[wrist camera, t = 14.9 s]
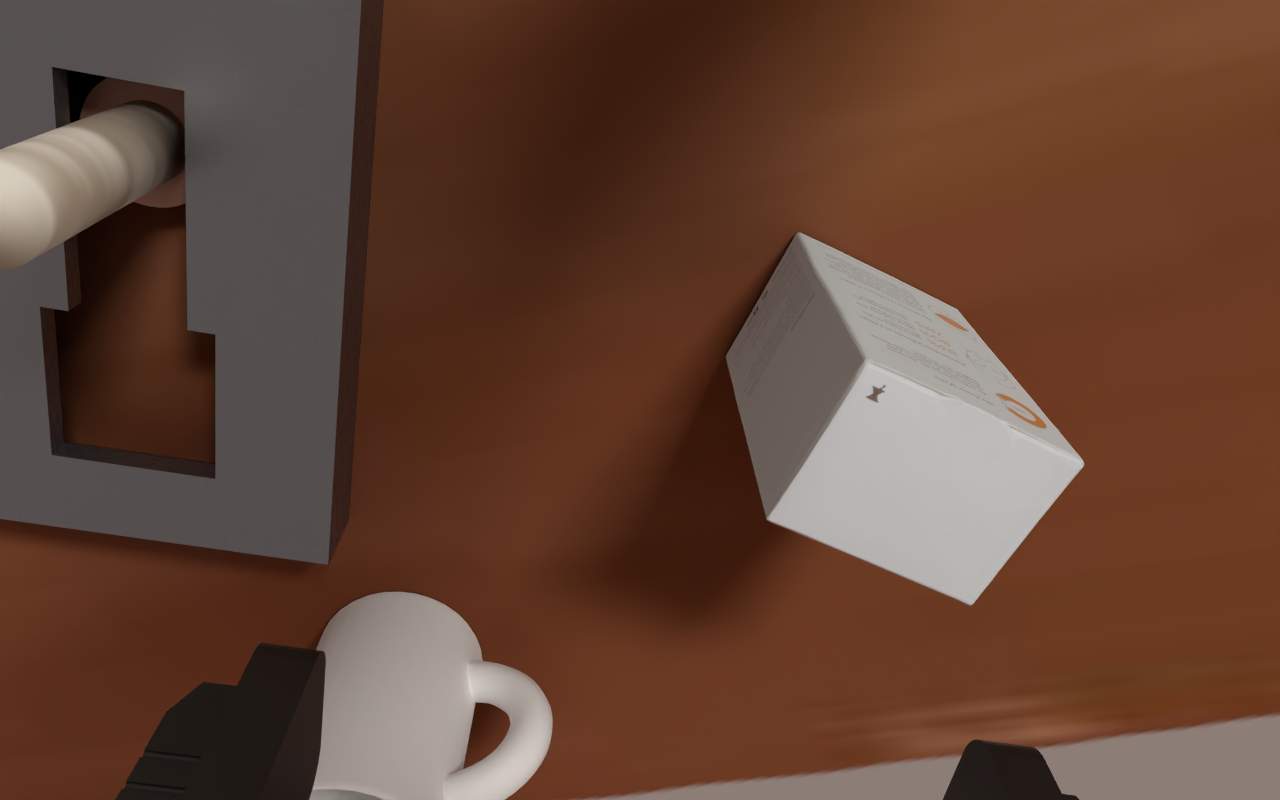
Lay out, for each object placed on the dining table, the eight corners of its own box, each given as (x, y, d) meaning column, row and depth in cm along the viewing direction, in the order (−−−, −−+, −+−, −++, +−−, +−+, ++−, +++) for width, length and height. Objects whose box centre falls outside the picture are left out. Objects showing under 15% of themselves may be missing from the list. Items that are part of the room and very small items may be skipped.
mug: (573, 702, 51) (560, 912, 40) (345, 727, 52) (272, 941, 41) (546, 571, 48) (524, 763, 37) (302, 599, 48) (209, 797, 37)
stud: (95, 54, 37) (-122, 110, 26) (232, 79, 38) (74, 144, 27) (101, 185, 39) (-96, 287, 29) (231, 207, 40) (85, 315, 29)
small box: (721, 356, 43) (759, 522, 31) (796, 227, 40) (866, 353, 29) (881, 429, 45) (974, 612, 33) (962, 309, 42) (1092, 460, 30)
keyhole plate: (-81, -128, 34) (-151, -132, 31) (386, -36, 36) (363, -32, 33) (-13, 468, 45) (-61, 510, 42) (348, 520, 46) (328, 565, 43)
